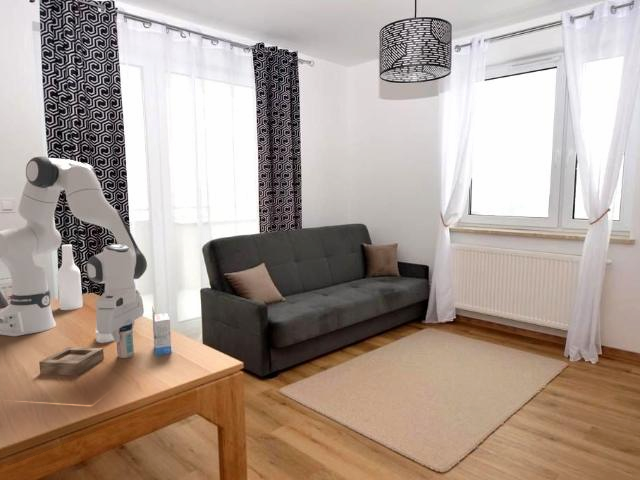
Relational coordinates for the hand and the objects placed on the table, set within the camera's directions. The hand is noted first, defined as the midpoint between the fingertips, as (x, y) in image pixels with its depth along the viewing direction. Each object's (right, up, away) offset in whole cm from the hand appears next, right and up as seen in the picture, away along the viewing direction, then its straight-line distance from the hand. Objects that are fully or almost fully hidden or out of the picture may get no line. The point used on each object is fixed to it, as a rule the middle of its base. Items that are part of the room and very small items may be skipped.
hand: (123, 338), depth 137 cm
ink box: (+11, -6, +5) cm, 13 cm away
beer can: (0, -6, +1) cm, 6 cm away
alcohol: (-49, -1, +55) cm, 73 cm away
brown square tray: (-12, -8, -7) cm, 16 cm away
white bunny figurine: (-13, -5, +15) cm, 20 cm away
